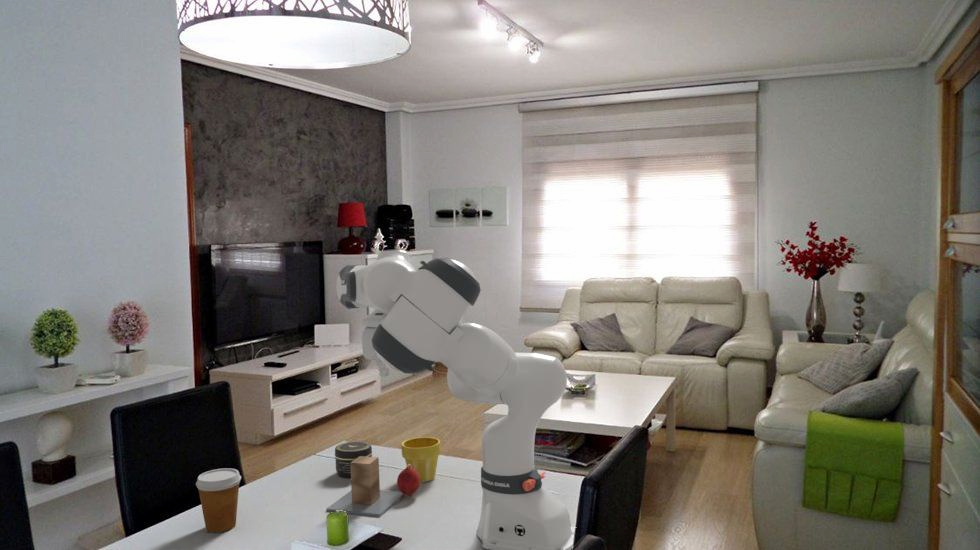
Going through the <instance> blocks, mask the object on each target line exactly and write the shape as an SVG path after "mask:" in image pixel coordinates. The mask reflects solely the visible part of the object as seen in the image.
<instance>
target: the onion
mask: <svg viewBox="0 0 980 550" xmlns="http://www.w3.org/2000/svg"><path fill="white" fill-rule="evenodd" d="M421 483H422V482H421V480H420V476H419V474H418V472H417V471H416V470H414V469H413V468H412V465H411V464H409V465H406V467H405V469H403V470H402V471H400V473H399V474H398V476H397V479H396V485H397V488H398V491H399V492H402V493H403V494H404V496H406V497H411V496H412V495H413V494H415V493H417V492H418V490H419V489H420V487H421Z"/></svg>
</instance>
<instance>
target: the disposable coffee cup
mask: <svg viewBox="0 0 980 550" xmlns="http://www.w3.org/2000/svg"><path fill="white" fill-rule="evenodd" d="M196 480H197V481H196V482H195V486H196V488H197V489H198V494H199V499H200V500H199V501H200V503H201V511H202V514H203V521H204V525H205V530H207V531H206V532H208V531H210V532H209V533H211V532H219V533H223V532H222V531H224V532H227V531H226V530H228V531H230V530H232V529H233V527H234V528H235V527H236V526H237V514H238V501H239V489H240V483H241V480H242V475H240V471H239V470H238V469H236V468H231V467H230V468H226V467H225V468H217V469H216V468H215V469H211V470H208V471H205V472H202V473H201V474H199V475H198V477H197V479H196ZM235 525H236V526H235ZM229 529H230V530H229Z"/></svg>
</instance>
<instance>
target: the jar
mask: <svg viewBox="0 0 980 550" xmlns="http://www.w3.org/2000/svg"><path fill="white" fill-rule="evenodd" d="M372 449H373V448H372V444H371V443H370V442H367V441H360V440H354V441H353V440H351V441H346V442H343V443H339V444H337V445H336V446H335V448H334V458H335V471H336V474H337V475H338V477H340V478H342V479H350V480H351V464H350V463H351V462H352V461H354V460H355V459H356V458H358V457H359V456H366V457H373V450H372Z"/></svg>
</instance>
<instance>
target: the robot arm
mask: <svg viewBox="0 0 980 550" xmlns="http://www.w3.org/2000/svg"><path fill="white" fill-rule="evenodd" d="M410 258H411V257H410V253H409V252H408V251H406V250H404V249H394V248H392V249H386V250H385V249H384V250H381V251H379V252H378V253H377V257H376V260H375V261H374V262H372V263H371V264H368V265H357V264H347V265H345V266H343V268H342V269H341V270H340V271H339V273H338V276H337V279H336V282H335V285H336V286H335V287H336V289H335V290H336V294H337V295H336V296H337V297H338V300H339V303H341V305H343V306H344V307H345V308H346V309H348V310H350V309H351V310H353V309H361V308H372V309H374V311H371V312H370V313H369V314H367V315H366V316H364V317H363V318H362V320H361V321H362V322H361V324H362V327H365V328H364V329H363V331H362V336H361V337H362V340H361V341H362V342H361V343H362V344H361V347H362V349H361V350H362V356H363V357H364V359H365V360H370V361H375V364H376V366H377V368H378V369H379V370H378V371H379V372H378V373H379V376H380V377H382V378H383V377H388V376H389V375H390V369H392V370H395V371H398V372H401V373H402V374H403V373H404V374H419V373H422V372H425V371H426V370H428V371H429V372H433V371H435V367H434V366H433V365H435V364H437V363H441V364H443V366H445V367H446V368H447V374H446V380H447V381H446V382H447V386H448V389H449V391H450V393H451V394H452V395H453V397H455V399H459V400H462V401H466V402H470V403H475V404H488V405H505V406H507V415H505V416H503V417H501V418H498V419H496V420H494V421H493V422H491V423H489V424H488V425H487V426H486V427H485V429H484V430H483V432H482V435H481V436H482V437H481V443H482V444H481V450H482V453H481V455H482V466H481V468H480V486H481V490H482V502H481V511H480V515H479V516H480V518H479V521H478V526H477V529H476V534H477V537H478V538H479V539H480V540H481V542H482V543H481V544H482V547H483V548H484V549H486V550H571V549H572V546H573V538H574V528H576V527H575V526H573V525H572V524H571V517H570V514H569V513H570V512H569V510H568V507H567V506H566V505H565V504H564V503H563V502H561V501H560V500H559V499H558V498H557V497H555V496H554V494H552V493H551V492H550V491H549V490H548V489H547V488H546V487H545V486H544V485H543V481H542V479H545V477H546V475H545V474H546V471H543V472H542V473H539V471H538V469H537V467H536V465H535V439H536V432H537V427H538V425H539V423H540V420H541V419H542V417H543V416H544V414H545V413H546V412H547V410H548V409H550V407H552V406H553V405H554V404H556V403H557V402H558V401H559V400H560V399H561V398H562V396H563V395H564V394H565V392H566V388H567V386H568V385H567V383H568V375H567V371H566V369H565V366H564V364H563V363H562V361H561V360H560V359H559V358H558V357H556V356H552V355H549V354H543V353H538V352H520V351H519V352H518V351H517V352H515V350H514V349H513V348H512V346H511V345H510V344H509V343H507V341H505V339H504V338H502V337H501V335H499V334H498V333H497V332H495V331H493V330H492V329H490V328H489V327H486V326H485V325H481V324H479V323H474V322H464V323H461V322H462V321H463V320H464V318H465V316H466V315H467V313H468V312H469V310H470V308H471V306H472V307H473V306H474V305H475V304H476V302H477V300H478V298H479V296H480V294H481V291H482V289H481V286H480V282H478V280H477V277H476V276H475V274H474V273H473V271H472V269H470V268H469V266H467V265H466V264H465V263H462V262H461V261H458V260H455V259H452V258H451V259H450V258H449V257H438V258H437V257H435V258H434V259H432V260H430V261H428V262H426V261H425V260H421V261H419V264H421V266H420V267H418V268H417V269H416V268H415V267H414V266H413V265H412V264H411V259H410ZM572 550H573V549H572Z"/></svg>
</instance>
